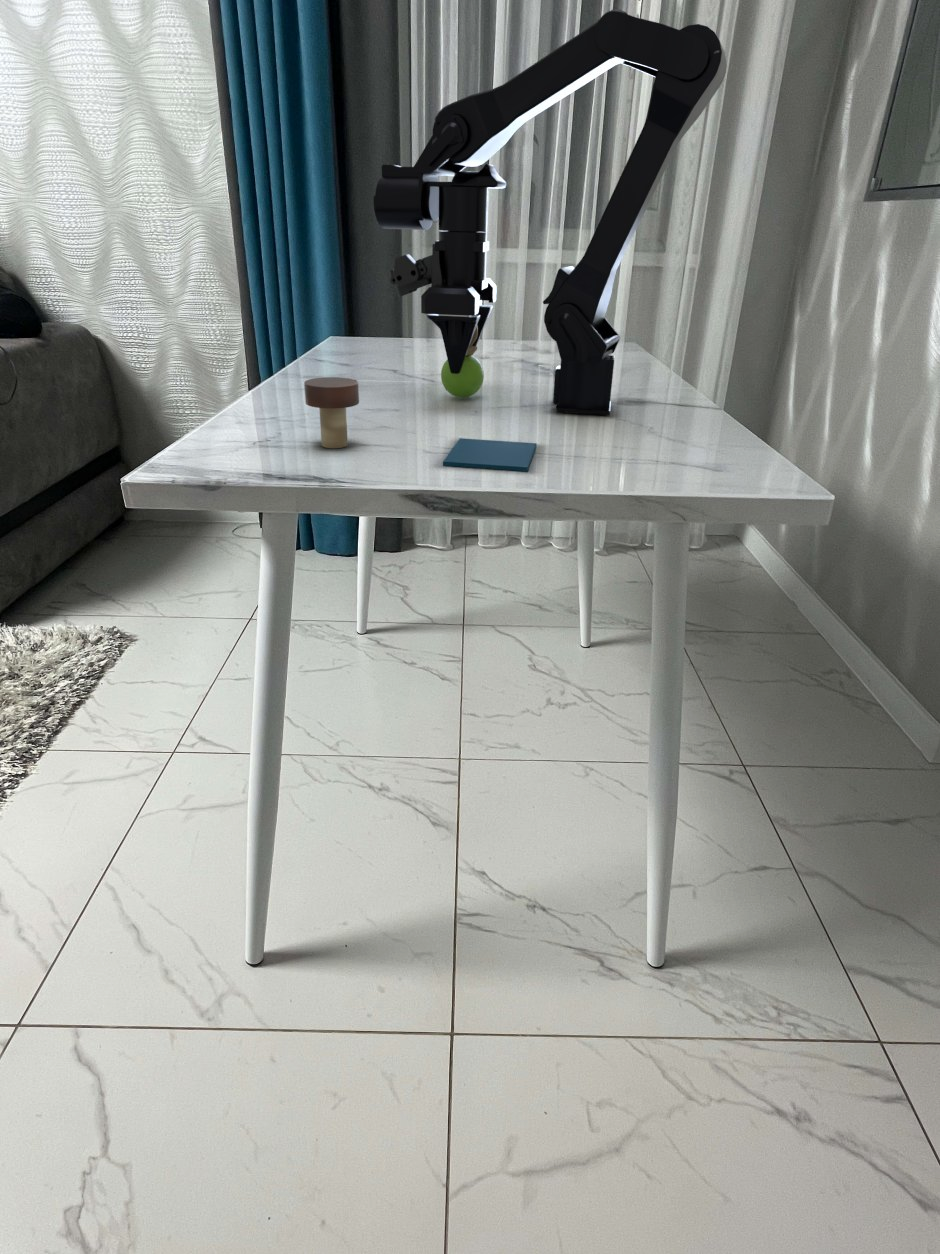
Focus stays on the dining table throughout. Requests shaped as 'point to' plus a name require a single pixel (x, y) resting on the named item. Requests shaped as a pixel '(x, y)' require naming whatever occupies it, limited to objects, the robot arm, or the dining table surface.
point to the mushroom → (332, 406)
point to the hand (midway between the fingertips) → (460, 368)
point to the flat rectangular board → (491, 454)
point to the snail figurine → (464, 374)
